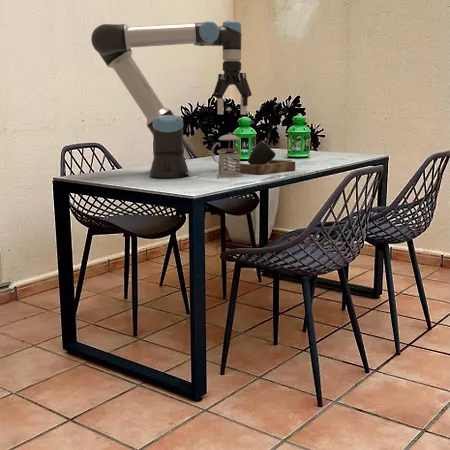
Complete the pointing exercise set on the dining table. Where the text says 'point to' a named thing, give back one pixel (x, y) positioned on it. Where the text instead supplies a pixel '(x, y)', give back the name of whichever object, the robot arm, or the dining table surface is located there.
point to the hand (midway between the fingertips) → (231, 114)
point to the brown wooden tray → (268, 167)
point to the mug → (261, 154)
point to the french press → (224, 170)
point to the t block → (279, 160)
